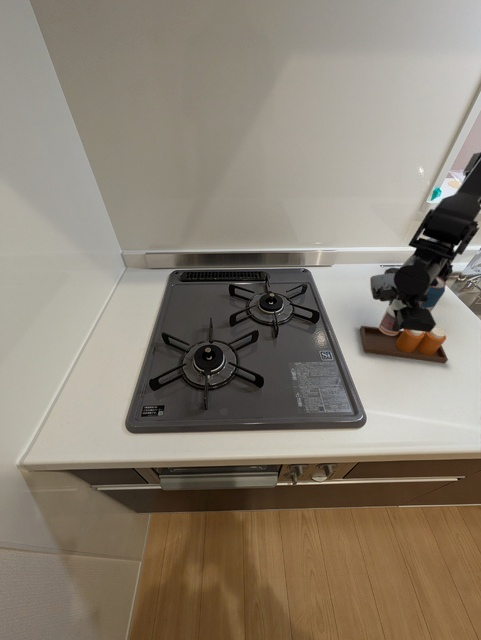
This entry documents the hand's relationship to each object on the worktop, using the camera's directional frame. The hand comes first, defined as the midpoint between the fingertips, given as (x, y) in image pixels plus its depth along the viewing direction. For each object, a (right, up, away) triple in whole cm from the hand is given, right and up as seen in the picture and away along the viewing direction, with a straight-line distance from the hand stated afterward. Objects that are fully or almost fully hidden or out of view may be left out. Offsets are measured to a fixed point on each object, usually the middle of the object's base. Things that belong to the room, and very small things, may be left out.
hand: (391, 323), depth 67 cm
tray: (+5, -6, +5) cm, 9 cm away
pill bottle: (0, -2, +2) cm, 2 cm away
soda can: (+14, +3, +14) cm, 20 cm away
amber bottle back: (+11, -7, +4) cm, 13 cm away
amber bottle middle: (+6, -6, +4) cm, 9 cm away
